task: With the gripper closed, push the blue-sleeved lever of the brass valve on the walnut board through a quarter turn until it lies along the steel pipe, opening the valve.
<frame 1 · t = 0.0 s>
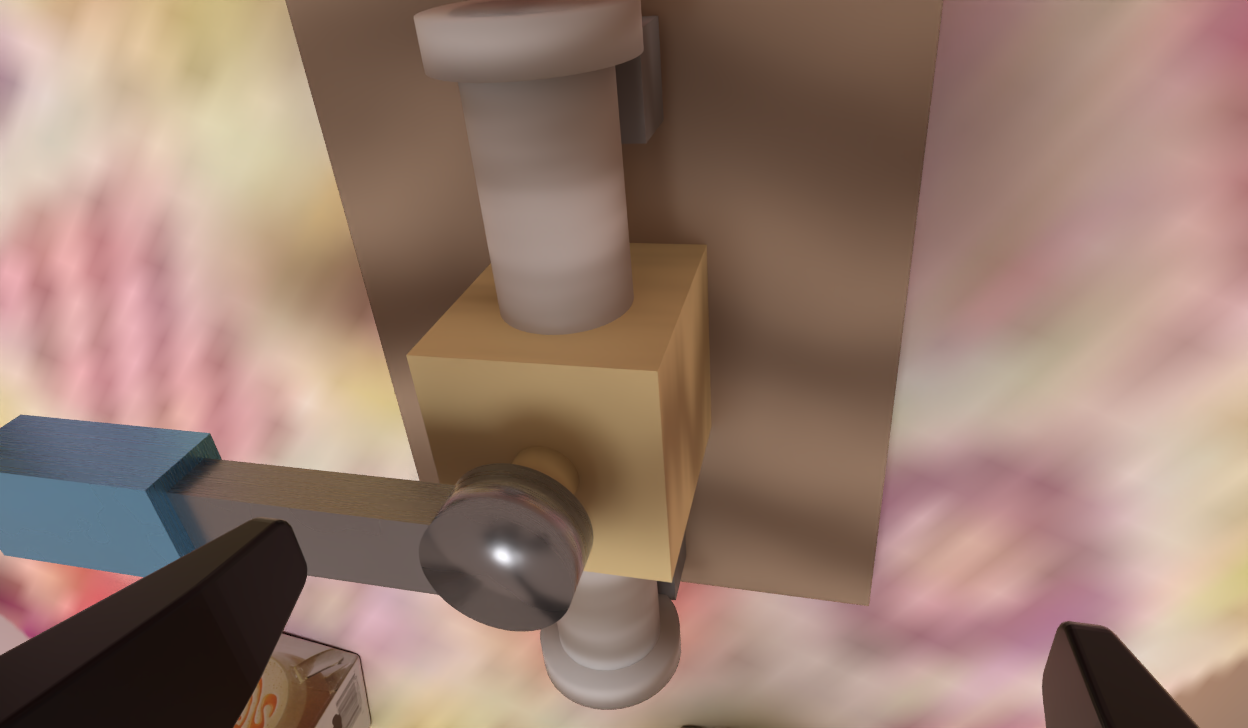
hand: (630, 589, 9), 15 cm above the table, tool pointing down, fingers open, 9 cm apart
coffee box: (292, 664, 41), on the table
valve board: (627, 313, 24), on the table
lever: (267, 517, 17), point 10 cm above the table, hinge at 90.0°
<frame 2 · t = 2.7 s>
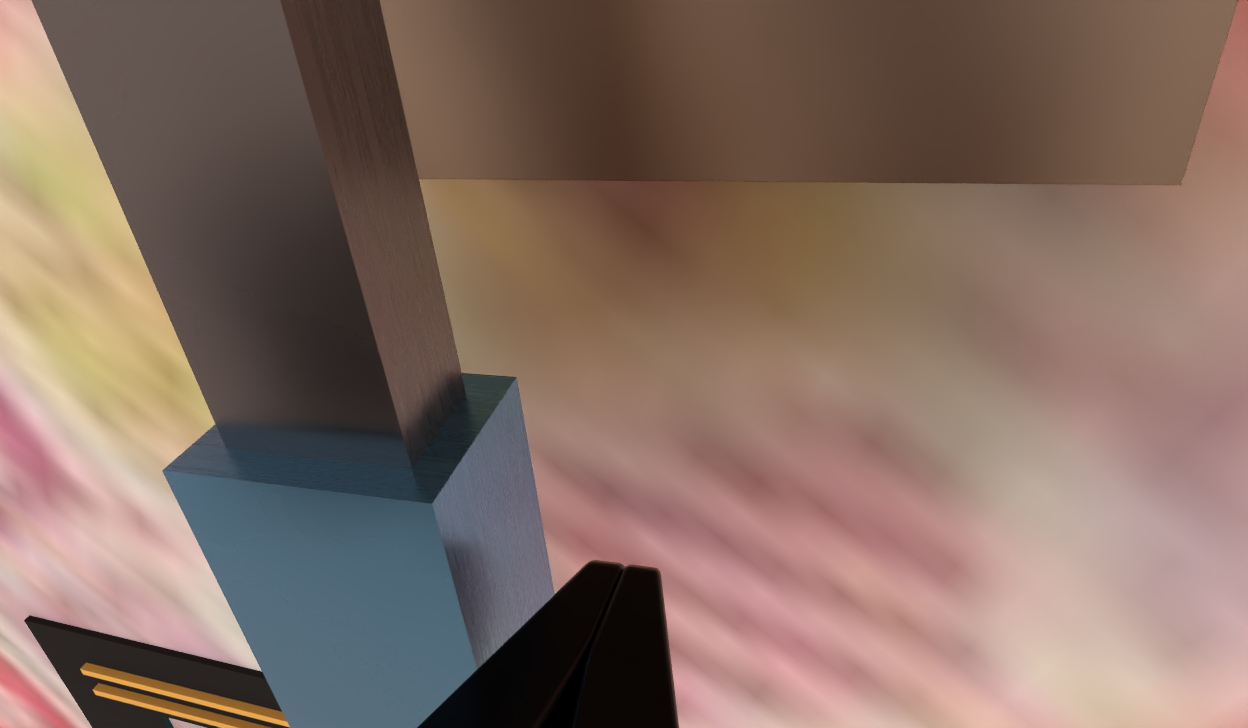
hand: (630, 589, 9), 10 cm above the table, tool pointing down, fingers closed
lever: (298, 260, 7), point 10 cm above the table, hinge at 90.0°, touching gripper
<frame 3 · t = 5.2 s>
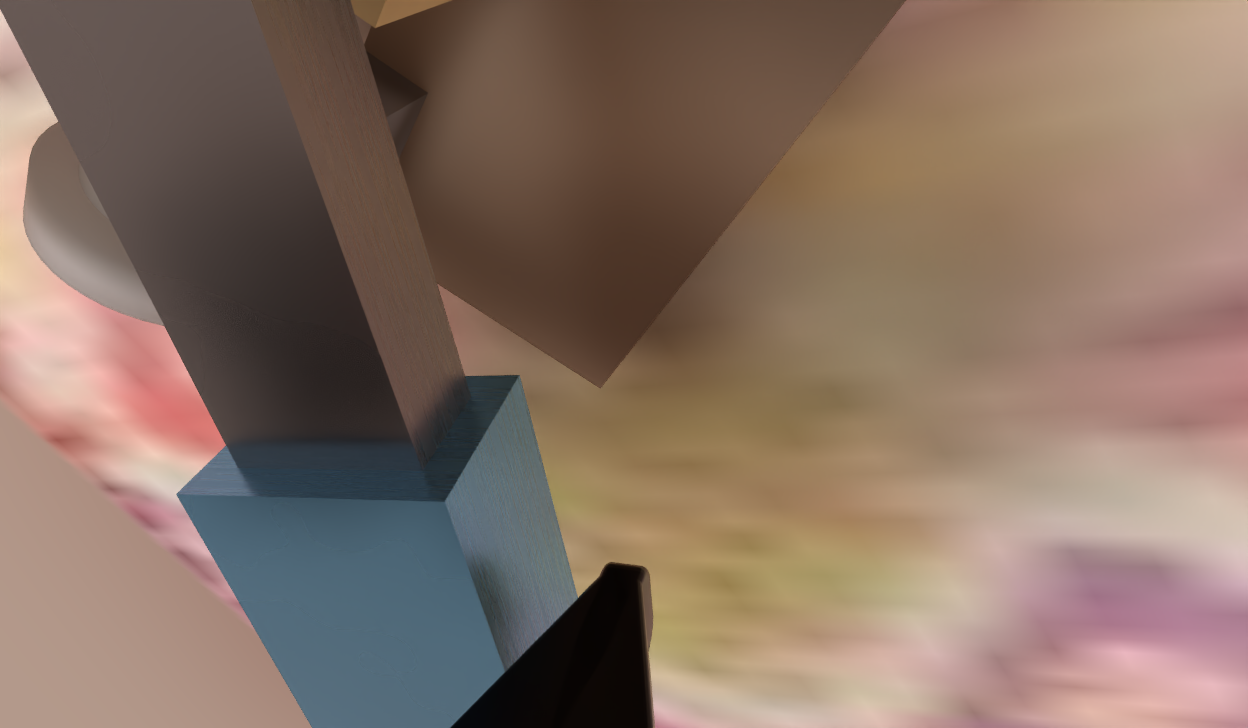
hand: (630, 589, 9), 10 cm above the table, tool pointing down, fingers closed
lever: (294, 273, 7), point 10 cm above the table, hinge at 40.9°, touching gripper
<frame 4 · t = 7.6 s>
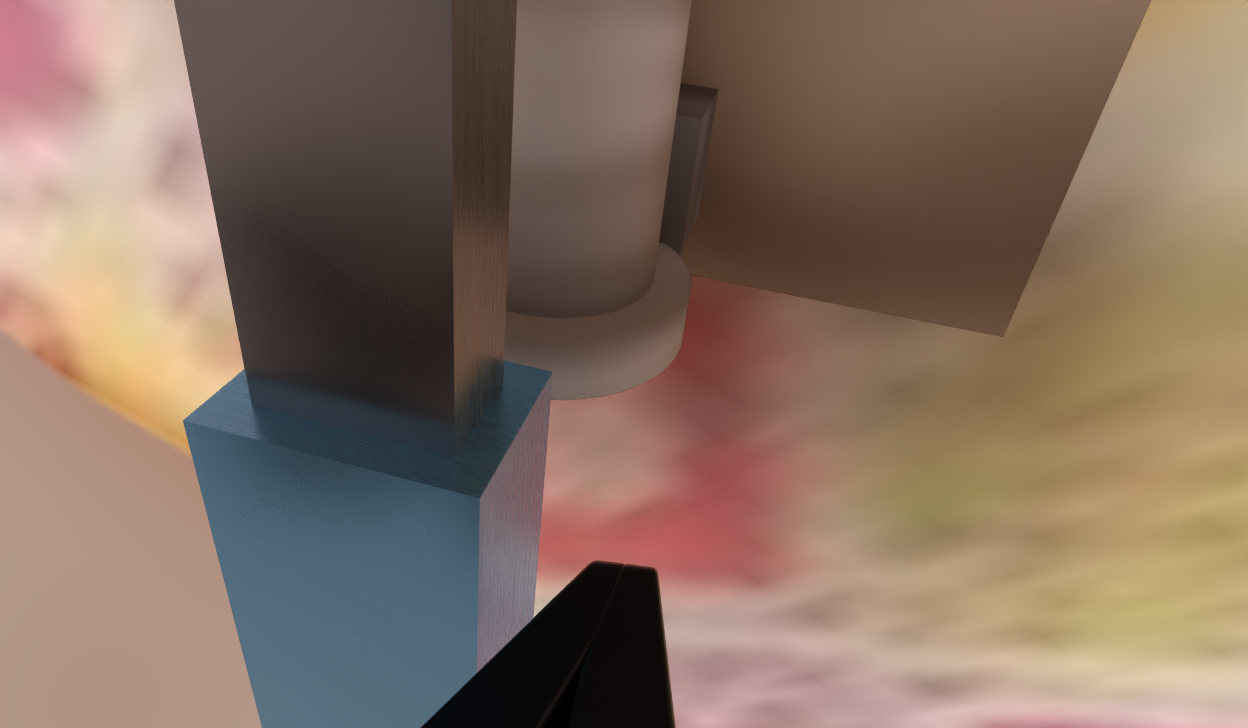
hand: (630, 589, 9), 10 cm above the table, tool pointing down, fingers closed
lever: (371, 228, 7), point 10 cm above the table, hinge at -1.0°
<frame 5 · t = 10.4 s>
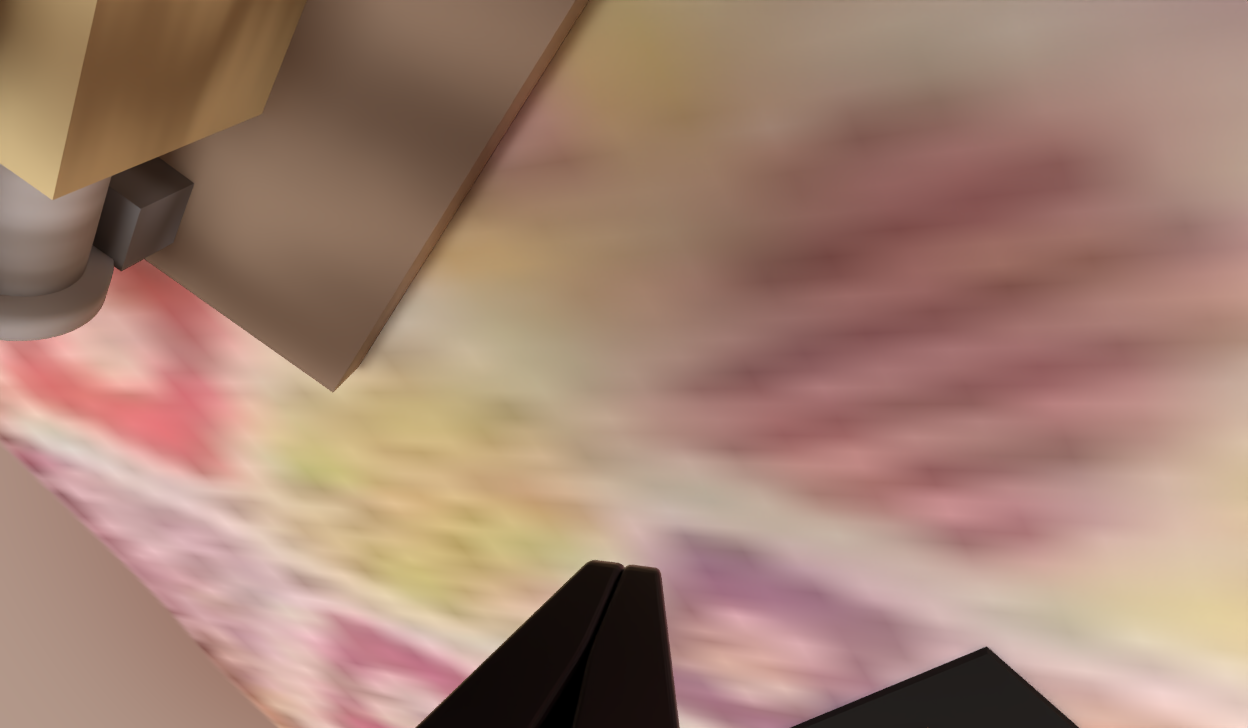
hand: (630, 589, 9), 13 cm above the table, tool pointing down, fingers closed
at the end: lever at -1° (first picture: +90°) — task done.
